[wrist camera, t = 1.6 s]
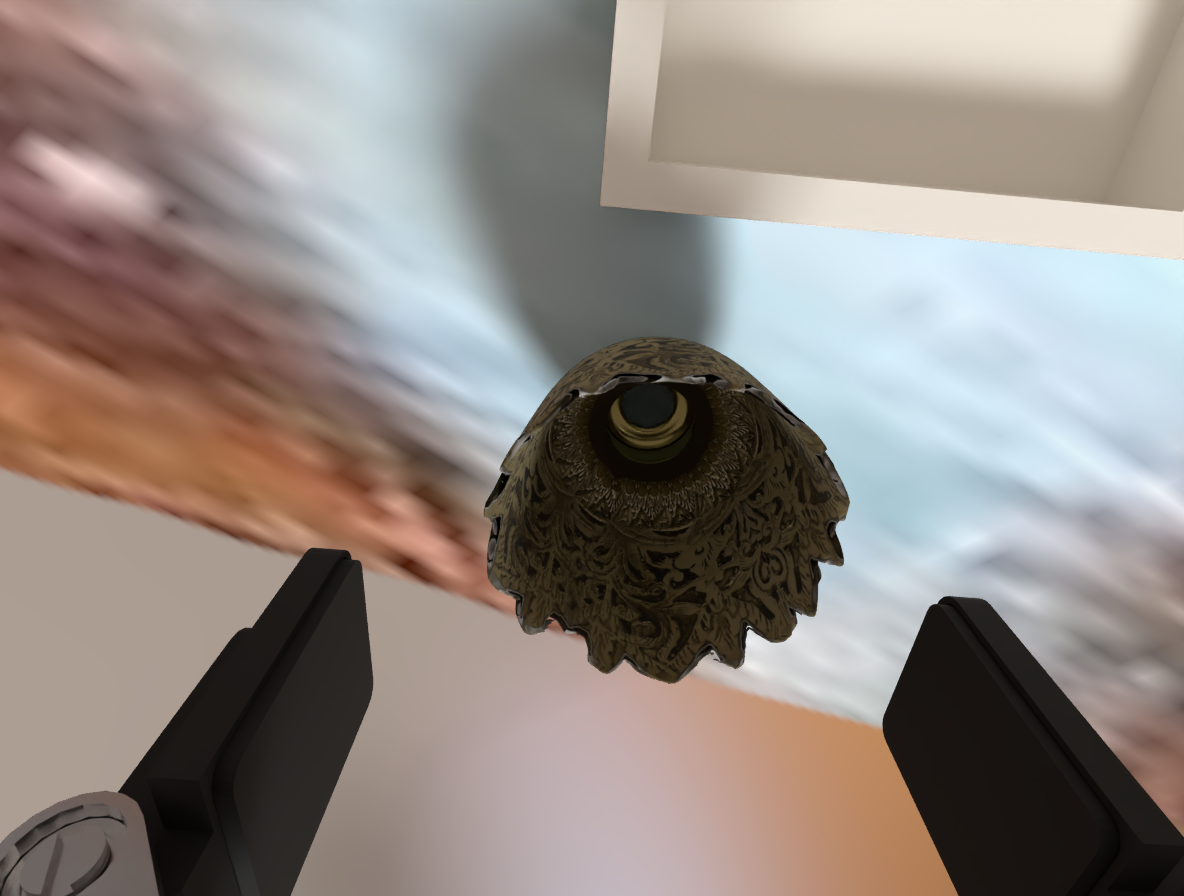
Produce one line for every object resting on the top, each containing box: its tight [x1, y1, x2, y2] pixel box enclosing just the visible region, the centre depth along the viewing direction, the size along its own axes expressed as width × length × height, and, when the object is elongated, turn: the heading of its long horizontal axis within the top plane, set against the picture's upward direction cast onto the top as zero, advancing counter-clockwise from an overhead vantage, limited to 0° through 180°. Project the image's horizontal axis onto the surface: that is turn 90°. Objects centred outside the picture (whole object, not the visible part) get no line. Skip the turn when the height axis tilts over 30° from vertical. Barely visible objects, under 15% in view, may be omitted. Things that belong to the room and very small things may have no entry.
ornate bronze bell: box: [484, 337, 850, 684], centre depth 16 cm, size 8×7×8 cm
